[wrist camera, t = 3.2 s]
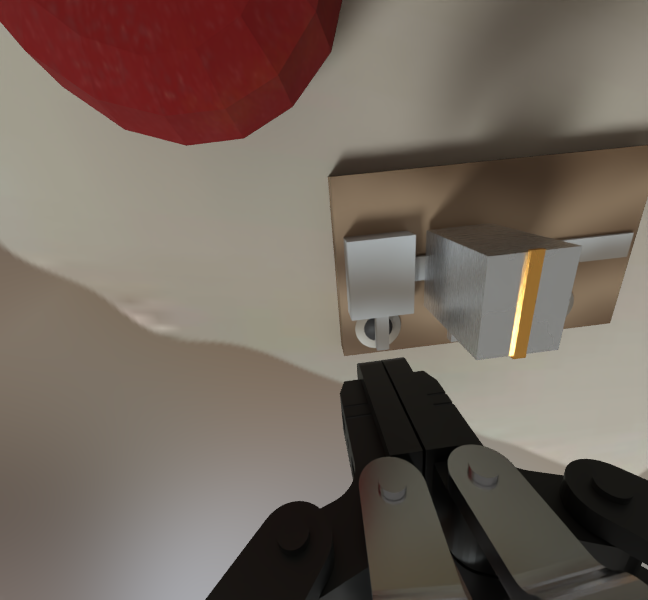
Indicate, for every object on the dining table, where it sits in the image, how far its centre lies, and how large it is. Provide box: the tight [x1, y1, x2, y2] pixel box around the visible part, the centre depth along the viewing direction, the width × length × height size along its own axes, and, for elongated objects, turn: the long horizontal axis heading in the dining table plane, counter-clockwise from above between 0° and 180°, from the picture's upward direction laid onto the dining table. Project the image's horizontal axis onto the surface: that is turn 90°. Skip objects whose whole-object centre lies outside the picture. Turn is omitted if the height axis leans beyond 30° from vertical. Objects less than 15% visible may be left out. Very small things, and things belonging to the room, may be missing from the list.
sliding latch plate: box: [328, 145, 648, 356], centre depth 20 cm, size 12×20×3 cm, turn 95°
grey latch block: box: [424, 223, 582, 360], centre depth 17 cm, size 8×4×7 cm, turn 5°
